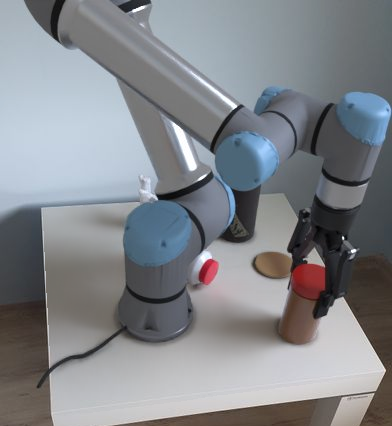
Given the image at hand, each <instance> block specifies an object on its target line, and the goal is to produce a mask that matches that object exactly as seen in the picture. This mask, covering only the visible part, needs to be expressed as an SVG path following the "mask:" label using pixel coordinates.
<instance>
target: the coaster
mask: <svg viewBox="0 0 392 426" xmlns="http://www.w3.org/2000/svg"><path fill="white" fill-rule="evenodd" d="M292 261H293V260H292V258H290V257H289V256H288V255H286V254H284V253H282V252H279V251H266V252H261V253H260V254H258V255H257V256H256V258H255V262H254V265H255V267H256V270H257V271H258V273H260V274H261V275H263V276H265V277H267V278H271V279H276V280H277V279H286V278H289V277H290V276H291V272H290V269H291V266H292Z"/></svg>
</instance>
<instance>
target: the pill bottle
mask: <svg viewBox="0 0 392 426" xmlns="http://www.w3.org/2000/svg"><path fill="white" fill-rule="evenodd" d="M219 266H220V264H219V262H218V261H217V260H215V259H213V255H212V253H211V251H209V250H207V249H205V250H204V251H203V252H202V253H201V254H200V255H198V256H197V257H196V258H195V259H194V260H193V261H192V262H191V263H190V264H189V266H188V269H187V281H186V282H187V283H190V284H192V285H193V286H194V285H199V284H203V285H205V286H208V285H210V284H211V283H212V282H213V281H214V279H215V278H216V276H217V273H218V271H219Z"/></svg>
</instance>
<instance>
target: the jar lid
mask: <svg viewBox="0 0 392 426" xmlns="http://www.w3.org/2000/svg"><path fill="white" fill-rule="evenodd" d="M290 276H291V275H290ZM289 280H290V281H291V286H292V288H293V289H294V291H295V292H297V293H298V294H299V295H301V296H303V297H306V298H310V299H319V297H320V294H321V291H323V290H325V266H323V265H320V264H316V263H307V264H302V265H299V266H297V267H296V268H295V269H294V270H293V272H292V276H291V279H290V278H289Z"/></svg>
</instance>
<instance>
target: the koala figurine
mask: <svg viewBox="0 0 392 426" xmlns="http://www.w3.org/2000/svg"><path fill="white" fill-rule="evenodd" d="M138 179H139V183H140V185H141V186H140V188H139V189H138V190H137V191H138V194H139V199H138V202H139V206H140V205H142V204H144V203H146V202H150V203H154V201H156V200H158V199H157V196H156V194H154V193H152V192H151V189H152V188H151V186H152V185H151V184H152V179H151V177H150V176H143V174H138Z"/></svg>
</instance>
